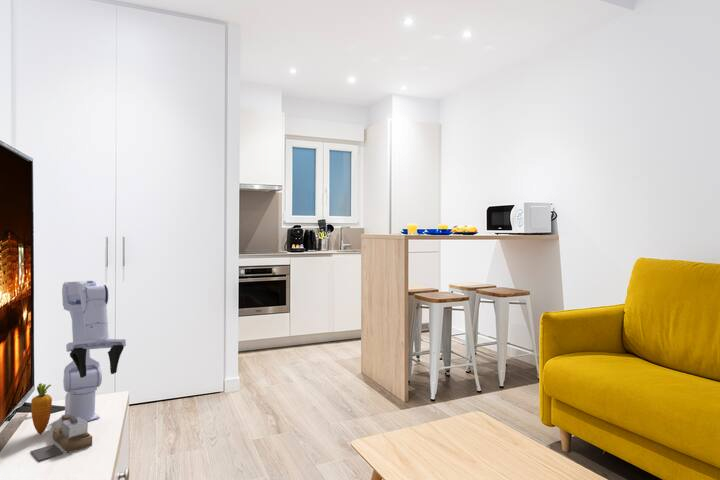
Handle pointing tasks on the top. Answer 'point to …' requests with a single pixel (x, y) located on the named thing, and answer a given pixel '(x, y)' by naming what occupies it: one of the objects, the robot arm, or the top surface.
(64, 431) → the lever cap
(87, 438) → the body
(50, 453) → the rubber mat
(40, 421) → the carrot
